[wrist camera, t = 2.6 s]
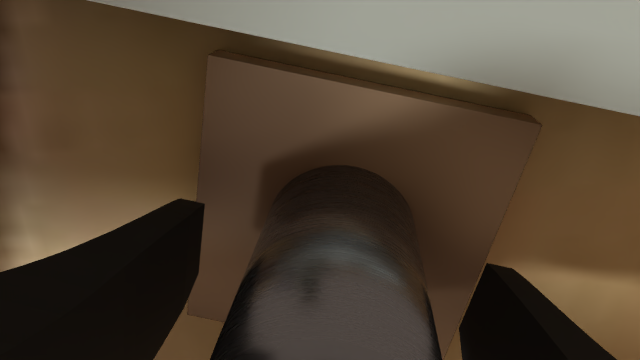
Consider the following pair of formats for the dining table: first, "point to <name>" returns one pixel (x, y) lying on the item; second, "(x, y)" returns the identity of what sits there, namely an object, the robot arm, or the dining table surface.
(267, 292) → the plug
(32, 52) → the dining table surface
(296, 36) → the port box
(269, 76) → the brown square tile
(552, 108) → the dining table surface
